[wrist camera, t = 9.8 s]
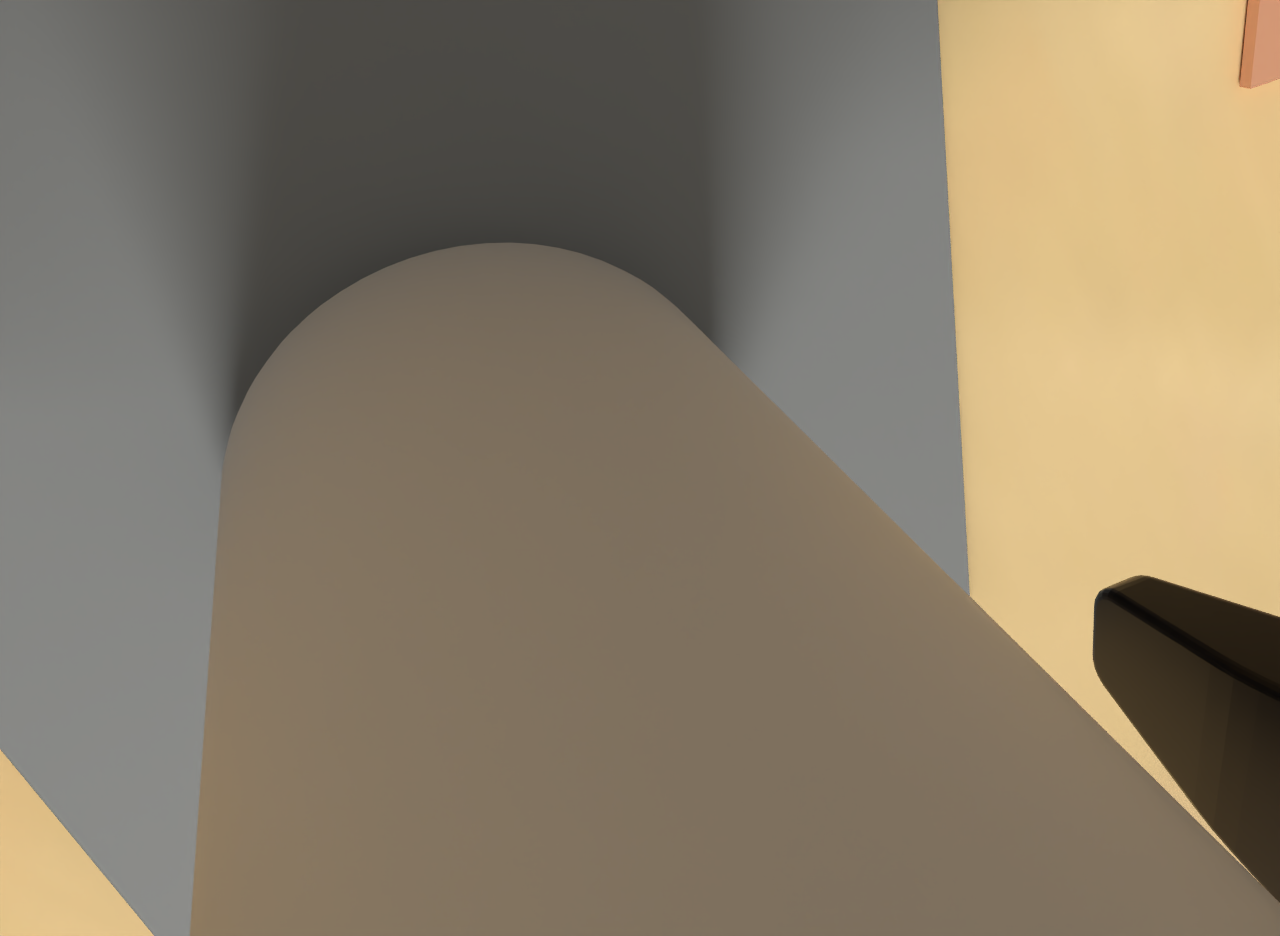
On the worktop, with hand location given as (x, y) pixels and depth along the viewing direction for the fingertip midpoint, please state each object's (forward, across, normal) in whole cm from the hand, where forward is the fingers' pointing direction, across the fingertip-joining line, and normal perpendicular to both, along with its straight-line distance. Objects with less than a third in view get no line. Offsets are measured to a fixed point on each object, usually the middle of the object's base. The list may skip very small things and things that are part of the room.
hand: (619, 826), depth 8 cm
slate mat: (+7, 0, 0) cm, 7 cm away
